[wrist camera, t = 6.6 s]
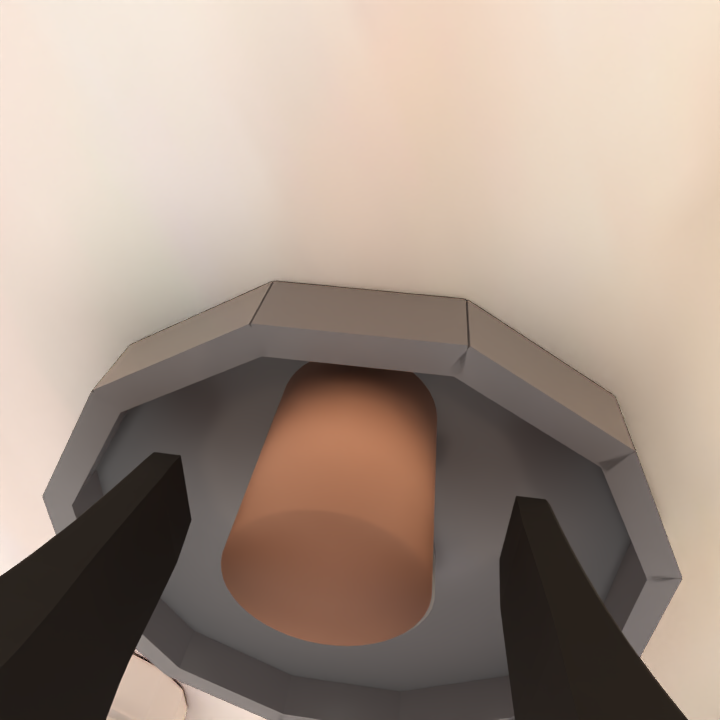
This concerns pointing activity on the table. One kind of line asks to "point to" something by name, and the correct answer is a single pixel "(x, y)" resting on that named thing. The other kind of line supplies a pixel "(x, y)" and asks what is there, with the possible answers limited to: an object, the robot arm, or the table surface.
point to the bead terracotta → (340, 509)
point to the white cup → (147, 695)
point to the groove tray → (452, 493)
